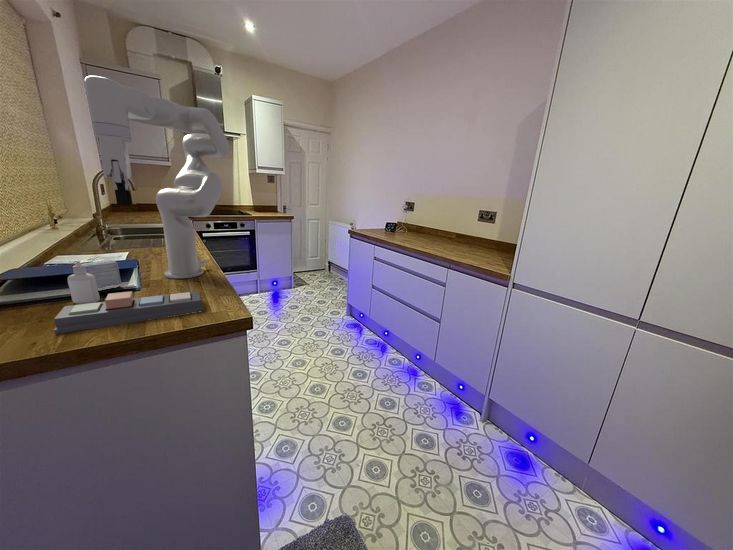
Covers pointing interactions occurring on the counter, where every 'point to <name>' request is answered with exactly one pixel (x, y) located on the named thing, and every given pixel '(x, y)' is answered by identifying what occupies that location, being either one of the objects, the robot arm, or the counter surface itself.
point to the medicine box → (104, 272)
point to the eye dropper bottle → (82, 285)
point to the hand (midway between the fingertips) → (125, 204)
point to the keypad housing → (124, 314)
